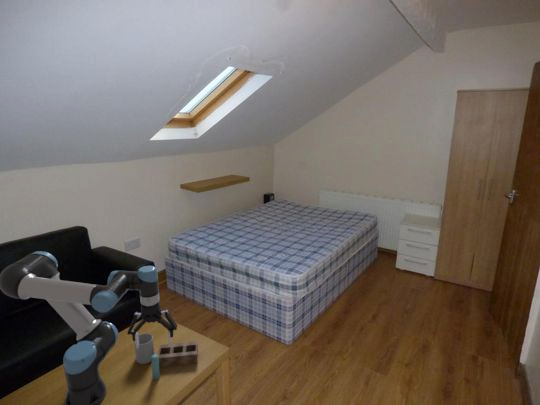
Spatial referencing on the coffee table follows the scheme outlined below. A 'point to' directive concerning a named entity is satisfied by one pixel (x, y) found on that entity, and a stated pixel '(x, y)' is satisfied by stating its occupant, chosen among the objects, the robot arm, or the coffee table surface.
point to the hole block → (178, 354)
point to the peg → (155, 366)
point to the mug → (144, 348)
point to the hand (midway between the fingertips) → (154, 344)
